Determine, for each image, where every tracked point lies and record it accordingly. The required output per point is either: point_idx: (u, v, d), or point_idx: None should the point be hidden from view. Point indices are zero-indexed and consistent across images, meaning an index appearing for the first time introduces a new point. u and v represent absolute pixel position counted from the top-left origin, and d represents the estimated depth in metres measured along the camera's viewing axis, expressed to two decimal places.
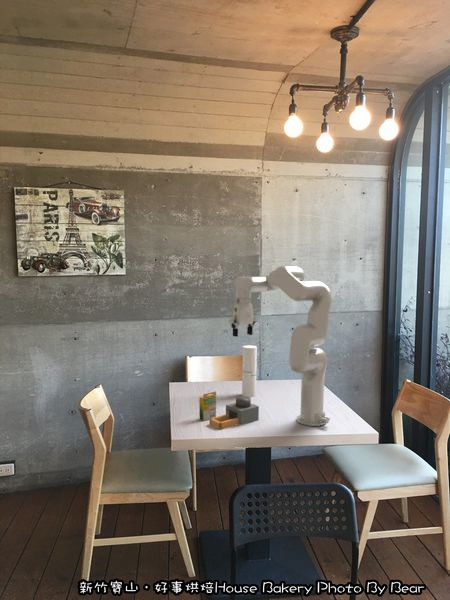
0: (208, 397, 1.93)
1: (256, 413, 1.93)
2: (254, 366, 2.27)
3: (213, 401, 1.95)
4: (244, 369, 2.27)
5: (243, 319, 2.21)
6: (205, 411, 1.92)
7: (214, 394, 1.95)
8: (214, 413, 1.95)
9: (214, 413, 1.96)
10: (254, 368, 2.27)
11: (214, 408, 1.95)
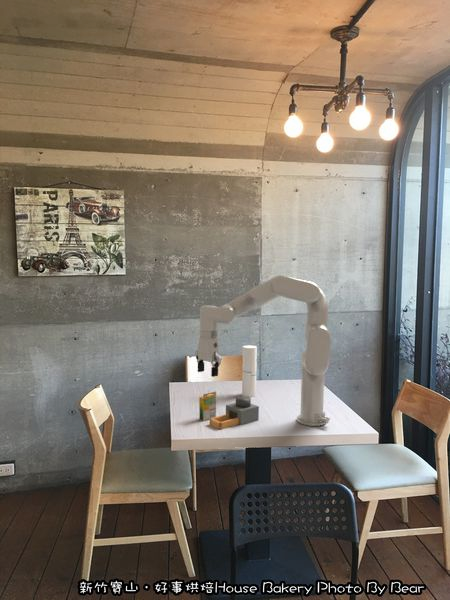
0: (208, 397, 1.93)
1: (256, 413, 1.93)
2: (254, 366, 2.27)
3: (213, 401, 1.95)
4: (244, 369, 2.27)
5: None
6: (205, 411, 1.92)
7: (214, 394, 1.95)
8: (214, 413, 1.95)
9: (214, 413, 1.96)
10: (254, 368, 2.27)
11: (214, 408, 1.95)
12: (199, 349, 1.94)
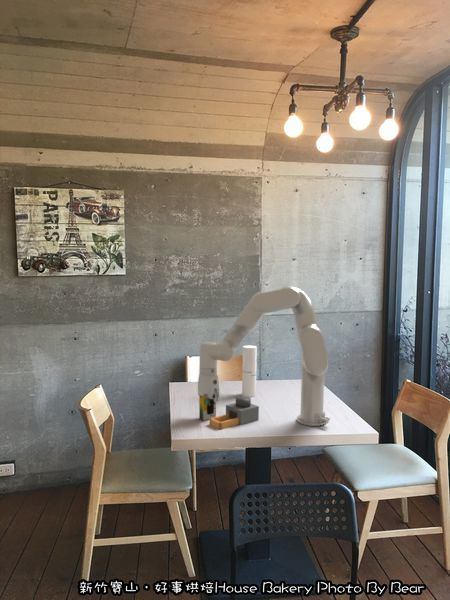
0: None
1: (256, 413, 1.93)
2: (254, 366, 2.27)
3: None
4: (244, 369, 2.27)
5: None
6: (205, 411, 1.92)
7: None
8: (214, 413, 1.95)
9: (214, 413, 1.96)
10: (254, 368, 2.27)
11: (214, 408, 1.95)
12: (199, 385, 1.95)
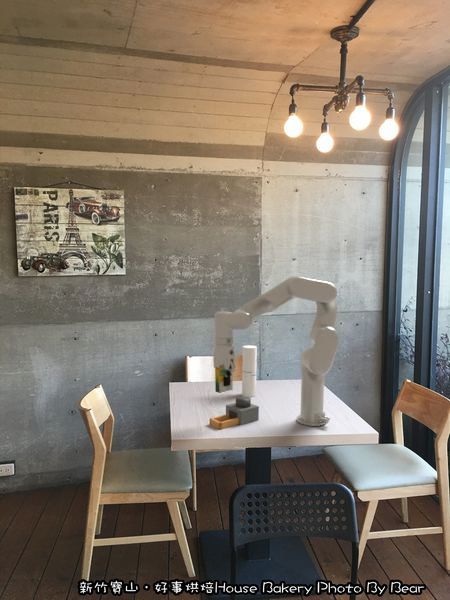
0: None
1: (256, 413, 1.93)
2: (254, 366, 2.27)
3: None
4: (244, 369, 2.27)
5: None
6: (221, 383, 1.85)
7: None
8: (231, 385, 1.88)
9: (231, 386, 1.89)
10: (254, 368, 2.27)
11: (230, 380, 1.88)
12: (215, 357, 1.88)
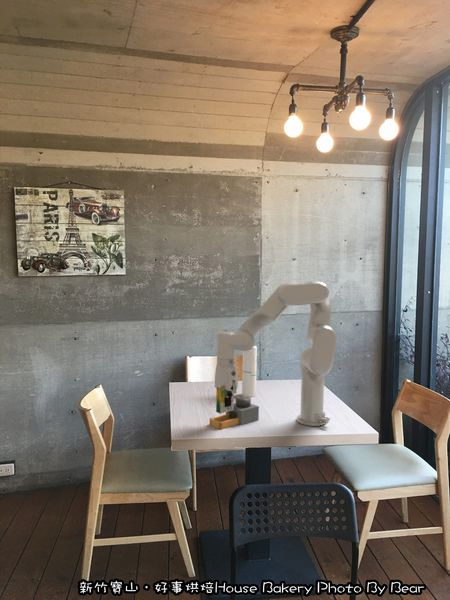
0: None
1: (256, 413, 1.93)
2: (254, 366, 2.27)
3: None
4: (244, 369, 2.27)
5: None
6: (222, 404, 1.85)
7: None
8: (231, 406, 1.88)
9: (232, 406, 1.88)
10: (254, 368, 2.27)
11: (231, 401, 1.88)
12: (216, 377, 1.88)
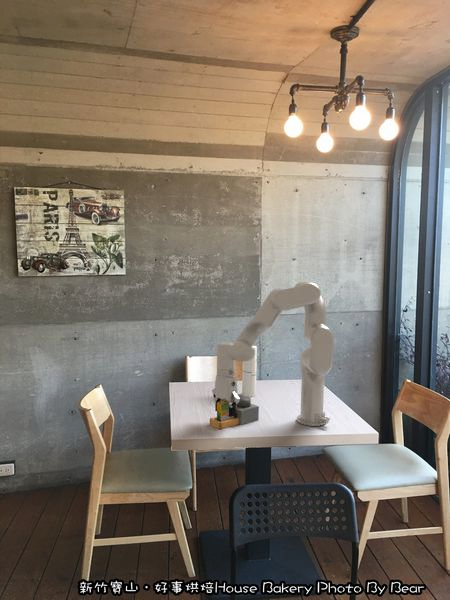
0: (226, 402, 1.86)
1: (256, 413, 1.93)
2: (254, 366, 2.27)
3: None
4: (244, 369, 2.27)
5: None
6: (223, 417, 1.85)
7: None
8: None
9: None
10: (254, 368, 2.27)
11: None
12: (216, 387, 1.88)
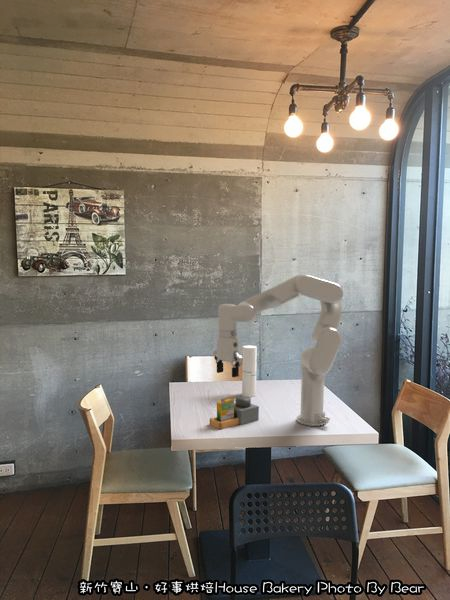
0: (226, 402, 1.86)
1: (256, 413, 1.93)
2: (254, 366, 2.27)
3: (231, 406, 1.88)
4: (244, 369, 2.27)
5: None
6: (223, 417, 1.85)
7: (232, 399, 1.88)
8: None
9: None
10: (254, 368, 2.27)
11: (232, 413, 1.88)
12: (218, 349, 1.88)
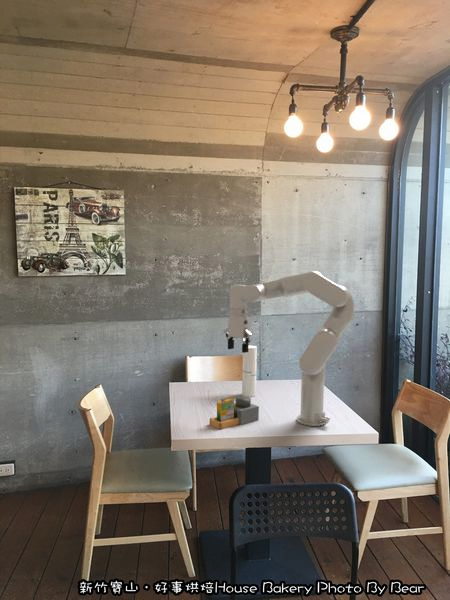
0: (226, 402, 1.86)
1: (256, 413, 1.93)
2: (254, 366, 2.27)
3: (231, 406, 1.88)
4: (244, 369, 2.27)
5: None
6: (223, 417, 1.85)
7: (232, 399, 1.88)
8: None
9: None
10: (254, 368, 2.27)
11: (232, 413, 1.88)
12: (229, 327, 2.01)
